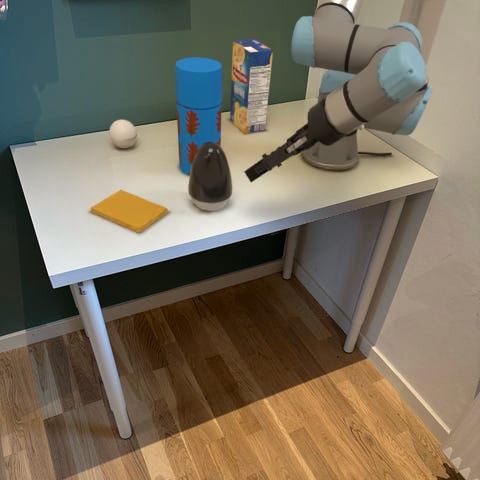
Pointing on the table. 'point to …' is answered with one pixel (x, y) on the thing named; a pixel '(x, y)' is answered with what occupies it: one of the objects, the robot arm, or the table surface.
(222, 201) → the black glossy oval body
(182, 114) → the thermos
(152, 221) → the mustard mat
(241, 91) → the cracker box
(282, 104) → the table surface
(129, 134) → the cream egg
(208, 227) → the table surface
